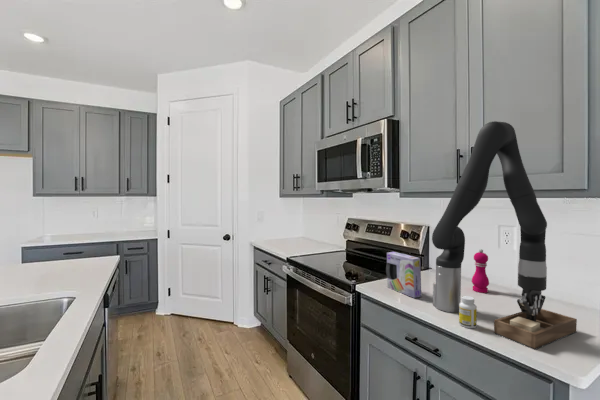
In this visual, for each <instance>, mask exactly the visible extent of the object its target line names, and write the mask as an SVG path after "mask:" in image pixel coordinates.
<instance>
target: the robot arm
mask: <svg viewBox="0 0 600 400" xmlns="http://www.w3.org/2000/svg"><path fill="white" fill-rule="evenodd" d="M496 155H497V157H498V159H499V161H500V165H501V168H502V169H501V170H502V178H503V179H502V180H503V184H504V188H505V190H506V193H507V196H508V198H509V201H510V202H511V205H512V206H513V208H514V212H515V215H516V218H517V221H518V224H519V229H520V243H519V252H518V254H519V255H518V256H519V257H518V258H519V259H518V265H517V285H518V287H520V288H521V289H522V291H521V298H520V299H519V298H518V299H517V300H516V302H517V305H518V307H519V309H520V312H522V313H525V314H526V319H529V320H532V321H535V322H536V315H537V314H538V312H540V311H541V309H543V306H544V303H545V299H546V296H545V295H543V294H542V292H543V291H546V290H547V281H548V280H547V275H548V273H547V272H548V271H547V269H548V267H547V248H546V234H547V233H546V232H547V231H546V230H547V228H548V222H547V220H546V217H545V215H544V214H543V213H544V212H543V211H542V209H541V207H540V205H539V203H538V200H537V196H536V193H535V190H534V188H533V186H532V184H531V181H530V179H529V177H528V174H527V172H526V169H525V166H524V162H523V159H522V156H521V153H520V149H519V143H518V138H517V135H516V130H515V128H514V127H513V125H512V124H511V123H509V122H505V121H496V120H494V121H490V122H488V123H485V124H484V125H483V126H481V128H480V129H479V131H478V134H477V136H476V138H475V142H474V145H473V147H472V150H471V154H470V156H469V159H468V162H467V164H466V165H465V167H464V169H463V172H462V174H461V176H460V178H459V179H458V182H457V184H456V186H455V189H454V191H453V193H452V196H451V198H450V200H449V202H448V204H447V206H446V209H445V211H444V213H443V214H442V216H441V217H440V220H439V221H438V222H437V224H436V226H435V228H434V229H433V231H432V234H431V235H432V236H431V237H432V238H431V242H432V244H433V246H434V248H435V249H439V250H442V253H441V254H440V255H438V256H437V257H436V259H435V282H433V284H432V285H433V287H432V289H433V290H432V294H433V295H432V296H433V297H432V306H434V307H435V308H436V309H437V310H440V311H443V312H447V313H459V304H460V303H461V302H462V300H461V299H462V294H461V293H462V291H461V290H462V287H461V286H462V263H463V261H464V258H465V246H466V245H465V244H466V238H465V237H466V236H465V233H464V231H463V229H462V228H461V227H459V225H460V223H461V222H462V220H463V219H464V218H465V217H466V216H467V215H468V214H470V213H471V212H472V211H473V210H474V209H475V208H476V207H477V205H478V204H479V203H480V202H481V200H482V197H483V195H484V193H485V191H486V189H487V186H488V182H489V175H490V168H491V165H492V163H493V161H494V159H495V158H496Z"/></svg>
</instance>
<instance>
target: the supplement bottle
mask: <svg viewBox="0 0 600 400" xmlns="http://www.w3.org/2000/svg"><path fill="white" fill-rule="evenodd" d="M477 310H478V309H477V305H476V304H475V298H474V297H472V296H470V295H469V296H468V295H464V296H462V295H461V302H460V304H459V311H458V314H459V315H458V323H459V325H460V326H461V327H464V328H467V329H475V328H477V317H478V315H477V313H478V312H477Z"/></svg>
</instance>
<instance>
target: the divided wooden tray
mask: <svg viewBox="0 0 600 400" xmlns="http://www.w3.org/2000/svg"><path fill="white" fill-rule="evenodd" d="M516 317H522V318H525V319H526V314H525V313H522V311H519V312H516V313H512V314H510V315H507V316H504V317H503V316H502V317H499V318H497V319H494V321H493V322H494V323H493V334H494V333H495V335H497V334H498V336H499V335H500V337H502V336H503V337H502V338H504V337H505V339H507V340H509V339H510V340H509V341H512V342H514V341H515V342H514V343H517V344H519V343H520V344H519V345H522V346H524V345H525V347H527V348H530V349H532V350H538V349H540V348H543V347H544V346H547V345H549V344H552V343H554V342H556V341H558V340H562V339H564V338H566V337H569V336H571V335H573V334H576V333H577V323H578V320H577V318H575V317H571V316H567V315H565V314H561V313H558V312H554V311H550V310H547V309H544V308H541V311H540V312H538V314H537V315H536V322H538V323H540V330H539V331H537V332H534V333H533V332H530V331H527V330H524V329H521V328H519V327H516V326H513V325H510V320H512V319H514V318H516ZM542 346H543V347H542Z"/></svg>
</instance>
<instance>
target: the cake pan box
mask: <svg viewBox="0 0 600 400" xmlns="http://www.w3.org/2000/svg"><path fill="white" fill-rule="evenodd" d="M421 269H422V268H421V257H417V256H413V255H409V254H406V253H400V252H397V251H390V252H389V251H388V252H386V266H385V274H386V278H387V279H386V281H387V286H386V287H387V288H388V289H391V290H393V291H396V292H397V293H398V292H399V293H401V294H403V295H405V296H409V297H411V298H413V299H417V298H422V272H421V271H422V270H421Z"/></svg>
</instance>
